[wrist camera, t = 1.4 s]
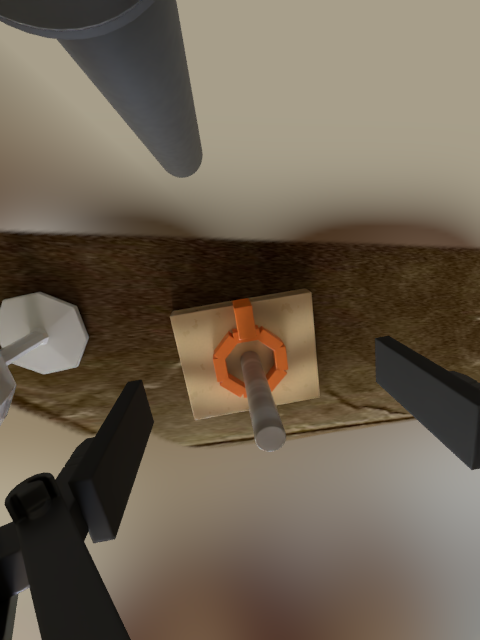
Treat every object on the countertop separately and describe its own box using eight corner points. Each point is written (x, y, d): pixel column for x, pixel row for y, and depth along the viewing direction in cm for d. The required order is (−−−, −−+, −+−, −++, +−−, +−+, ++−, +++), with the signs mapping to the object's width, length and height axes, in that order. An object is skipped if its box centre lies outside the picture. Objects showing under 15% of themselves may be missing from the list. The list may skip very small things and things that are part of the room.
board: (172, 310, 30) (137, 375, 16) (305, 288, 30) (376, 333, 17) (195, 409, 33) (182, 528, 20) (314, 388, 34) (378, 490, 20)
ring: (202, 305, 28) (201, 313, 25) (277, 292, 28) (284, 299, 25) (221, 396, 31) (221, 413, 28) (288, 384, 31) (295, 399, 28)
